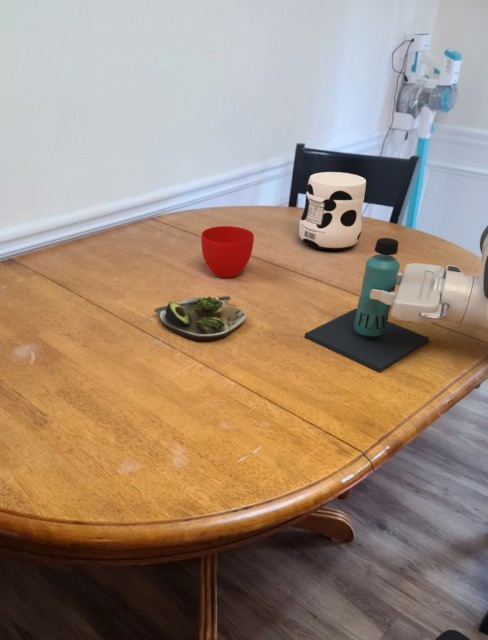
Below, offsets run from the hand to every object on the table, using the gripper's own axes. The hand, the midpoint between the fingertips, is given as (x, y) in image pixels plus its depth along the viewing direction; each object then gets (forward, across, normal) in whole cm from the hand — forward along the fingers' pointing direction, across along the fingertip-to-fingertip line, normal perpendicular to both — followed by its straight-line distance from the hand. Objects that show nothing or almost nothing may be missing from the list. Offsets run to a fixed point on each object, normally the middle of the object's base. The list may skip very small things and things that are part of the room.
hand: (374, 284), depth 110 cm
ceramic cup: (+38, +22, -12) cm, 46 cm away
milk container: (+19, +53, -12) cm, 58 cm away
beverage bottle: (-1, 0, -11) cm, 11 cm away
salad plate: (+34, -7, -12) cm, 36 cm away
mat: (-1, 0, -12) cm, 12 cm away
